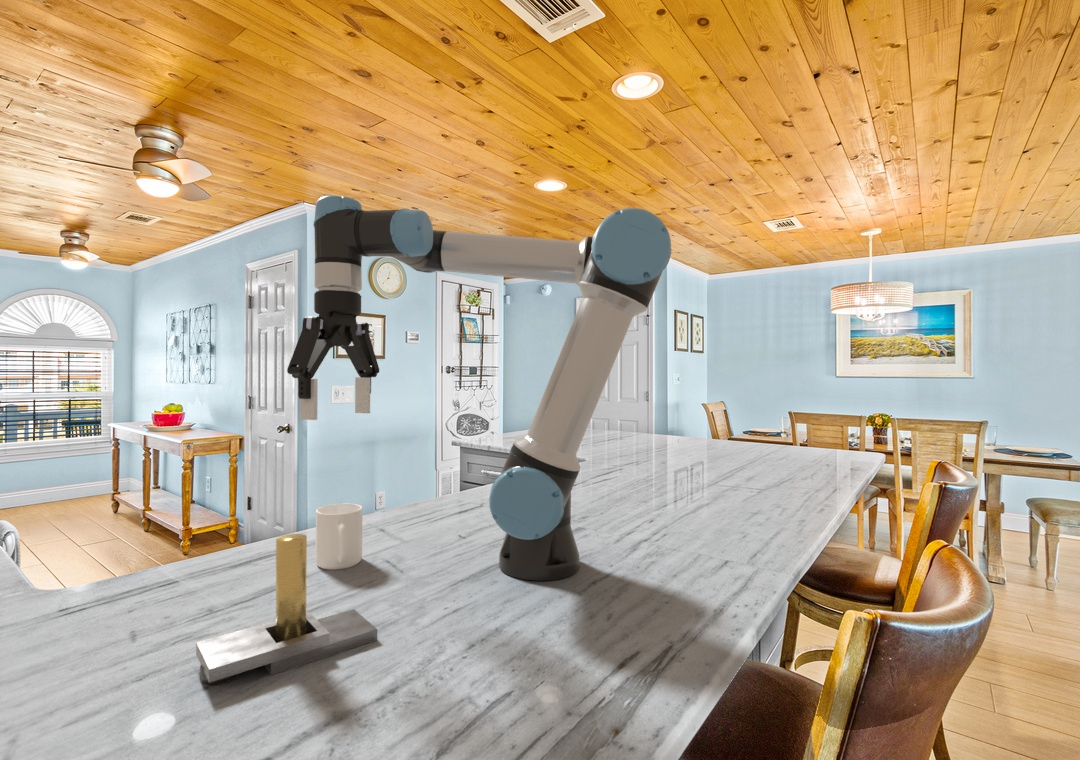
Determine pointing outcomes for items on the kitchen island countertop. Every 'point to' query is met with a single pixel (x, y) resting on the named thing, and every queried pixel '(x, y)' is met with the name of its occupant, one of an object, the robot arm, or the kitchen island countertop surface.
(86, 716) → the kitchen island countertop surface
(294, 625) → the pin
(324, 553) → the mug
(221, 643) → the slotted metal plate
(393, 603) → the kitchen island countertop surface
